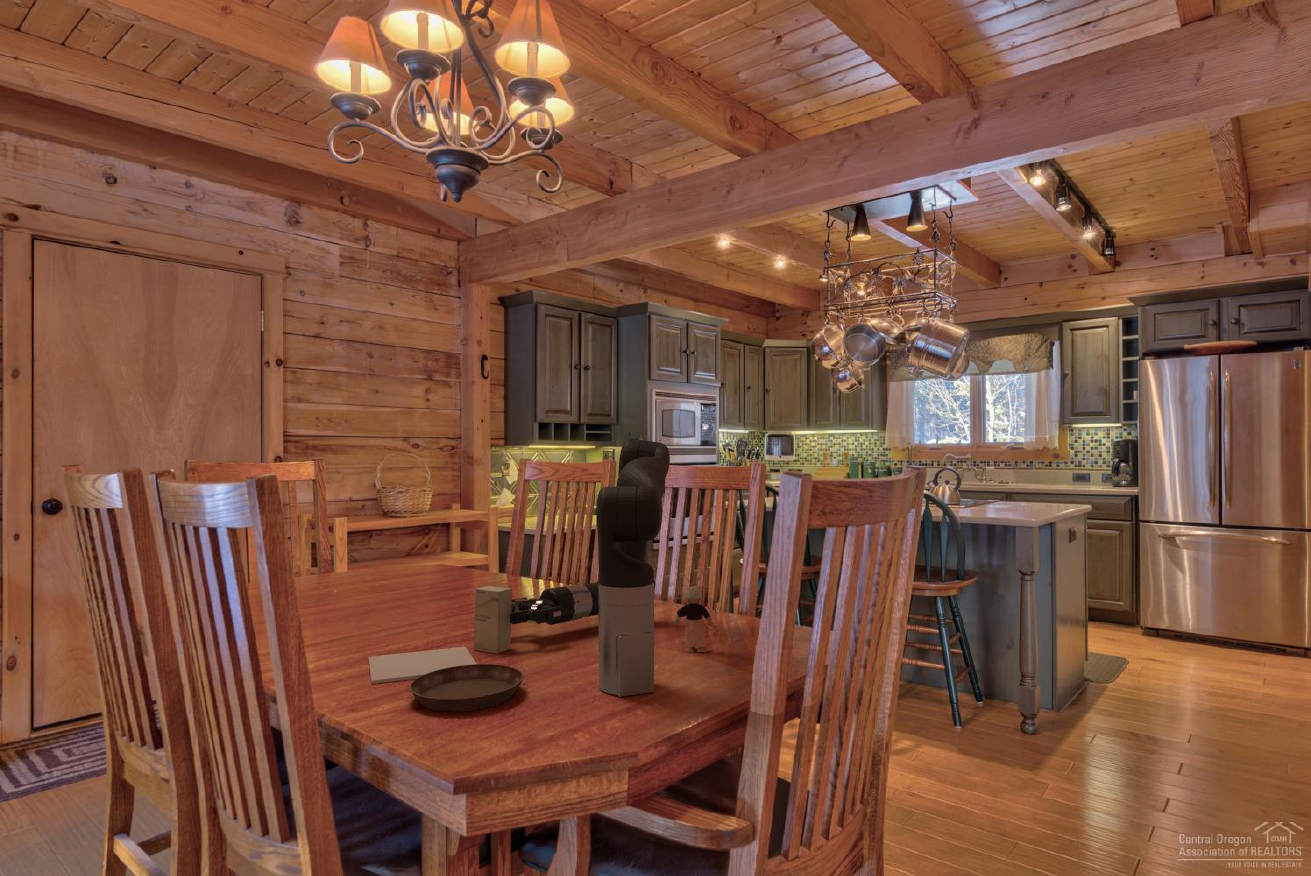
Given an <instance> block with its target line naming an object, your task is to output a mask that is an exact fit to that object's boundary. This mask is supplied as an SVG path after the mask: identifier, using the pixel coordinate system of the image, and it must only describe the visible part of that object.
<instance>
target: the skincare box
mask: <svg viewBox="0 0 1311 876" xmlns="http://www.w3.org/2000/svg"><path fill="white" fill-rule="evenodd" d="M474 591H475V592H474V596H475V597H474V623H473V650H475V651H480V652H484V653H485V652H487V653H489V654H490V653H491V654H501V653H503V652H505V651H508V650H511V642H512V641H511V637H512V636H511V635H512V624H511V623H510V614H511V604H512V599H513V597H512V596H513V595H512V593H513V589H512V588H511V587H510V588H509V587H505V586H504V587H503V586H493V585H485V586H481V587H477V588H475V589H474Z"/></svg>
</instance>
